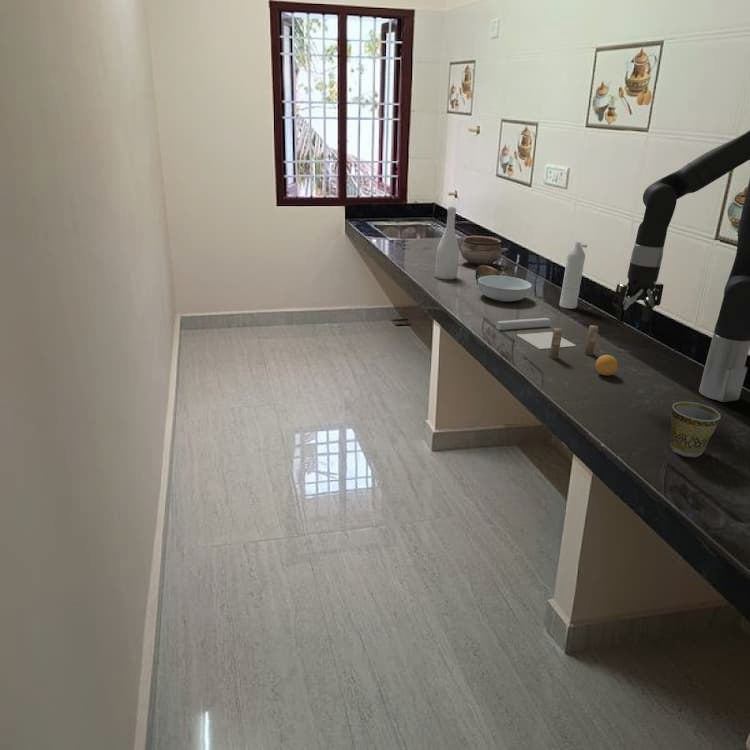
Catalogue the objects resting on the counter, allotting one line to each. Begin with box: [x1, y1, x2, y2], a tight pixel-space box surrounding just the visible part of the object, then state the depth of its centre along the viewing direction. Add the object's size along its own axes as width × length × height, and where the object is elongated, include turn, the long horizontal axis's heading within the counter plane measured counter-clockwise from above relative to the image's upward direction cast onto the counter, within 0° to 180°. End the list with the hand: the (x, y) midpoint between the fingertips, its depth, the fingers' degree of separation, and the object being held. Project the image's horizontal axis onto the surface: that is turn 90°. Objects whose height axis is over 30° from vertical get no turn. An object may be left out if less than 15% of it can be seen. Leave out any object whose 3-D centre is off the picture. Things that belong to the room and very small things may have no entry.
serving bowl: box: [477, 275, 533, 303], centre depth 264 cm, size 21×21×7 cm
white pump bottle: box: [559, 241, 588, 310], centre depth 254 cm, size 9×6×25 cm
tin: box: [475, 265, 501, 284], centre depth 280 cm, size 15×3×8 cm, turn 25°
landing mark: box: [516, 331, 577, 350], centre depth 220 cm, size 14×14×1 cm
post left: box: [548, 327, 563, 360], centre depth 204 cm, size 3×3×9 cm
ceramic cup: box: [669, 401, 721, 458], centre depth 152 cm, size 13×10×10 cm
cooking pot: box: [458, 235, 509, 268], centre depth 316 cm, size 25×19×12 cm
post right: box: [584, 324, 599, 356], centre depth 209 cm, size 3×3×9 cm
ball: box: [595, 354, 619, 376], centre depth 193 cm, size 6×6×6 cm
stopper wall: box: [495, 317, 551, 331], centre depth 232 cm, size 2×20×2 cm, turn 111°
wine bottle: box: [434, 206, 460, 281], centre depth 287 cm, size 10×10×30 cm
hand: (632, 321), depth 182 cm, fingers open, 8 cm apart
